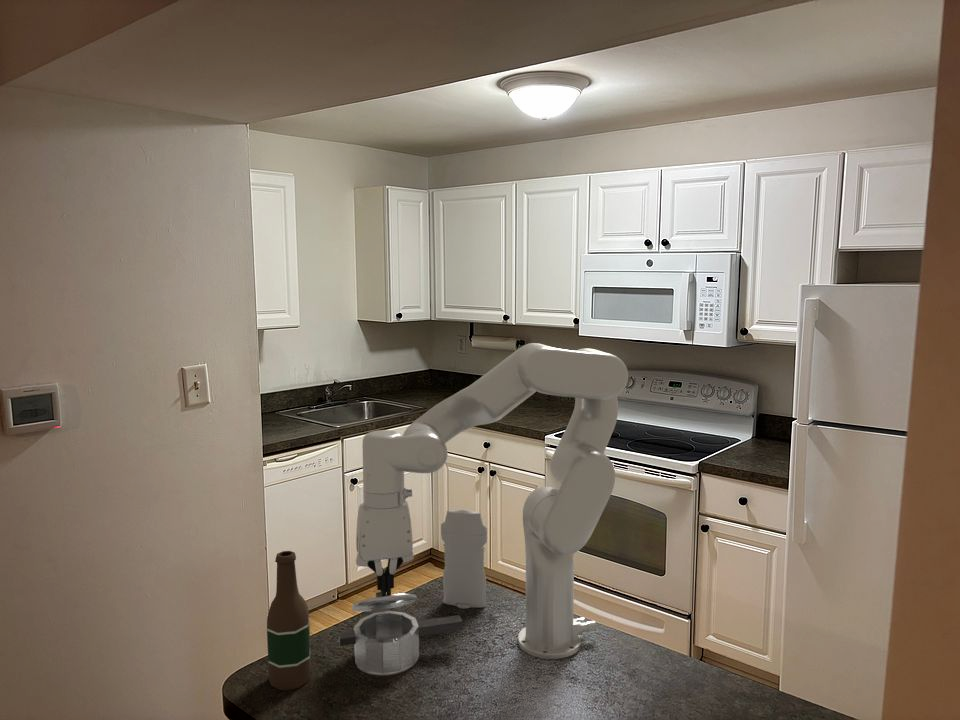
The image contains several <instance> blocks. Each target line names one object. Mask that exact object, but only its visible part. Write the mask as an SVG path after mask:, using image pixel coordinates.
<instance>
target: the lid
mask: <svg viewBox="0 0 960 720" xmlns="http://www.w3.org/2000/svg"><path fill="white" fill-rule="evenodd" d="M417 600H418V597H417V595H416V594H414V593H397V594H396V593H394V594H391V595H387V593H386V595H385V596H382V594H381V591H379V592H376V593H375V596H374V597H370V598H366V599H363V600H362V599H361V600H359V601H356V602H354V603H353V604H352V605H351V609H352V611H353V612H374V611H381V610H388V609H393V608H394V609H395V608H400V607H402V606H407V605H410V604H412V603H415V602H416V601H417Z"/></svg>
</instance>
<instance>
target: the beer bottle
mask: <svg viewBox="0 0 960 720" xmlns="http://www.w3.org/2000/svg"><path fill="white" fill-rule="evenodd" d="M296 559H297V556H296V552H294V551H292V550H283V551H281V552H278V553H276V556H275V560H274V561H275V563H276V587H275V588H276V591H275V596H274V598H273V599H272V601H271V603H270V606H269V609H268V613H267V616H266V617H267V618H266V637H267V638H266V639H267V643H266V644H267V662H268V664H267V665H268V679H269V680H268V681H269V685H270V686H272V687H273V688H276V689H278V690H279V691H288V690H298V689H299V688H300V687H302V686H304V685H306V684H307V683H309V682H310V679H311V671H312V669H311V667H312V666H311V665H312V659H311V658H312V656H311V654H312V653H311V633H310V629H311V628H310V612H309V606H308V604H307V602H306V600H305V599H304V597H303V596H302V594H300V592H299V587H298V580H297V571H296V570H297V569H296V564H295V563H296Z"/></svg>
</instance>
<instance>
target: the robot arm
mask: <svg viewBox="0 0 960 720" xmlns="http://www.w3.org/2000/svg"><path fill="white" fill-rule="evenodd" d="M628 382H629V372H628V368H627V365H626V364H625V363H624V361H623V360H622V359H621V358H619V357H618V356H617V355H614V354H612V353H610V352H609V353H608V352H606V351H605V352H604V351H602V350H599V349H594V348H589V347H587V348H586V347H585V348H579V349H577V350H570V349H564V348H557V347H553V346H549V345H546V344H542V343H538V342H530V343H527V344H524V345H522V346H521V347H519V348H517V350H515V351H514V352H512V353H511V354H510V355H508V356H507V357H506V358H504V359H503V360H501V362H499V363H498V364H497V365H496V366H494V367H493V368H491V369H490V370H489V371H487V372H486V373H485V374H483V375H482V376H481V377H480V378H478V379H476V380H475V381H473V383H472V384H469V386H467V387H465V388H463V389H461V390H459V391H458V392H456V393H454V394H453V395H451V396H449V397H447V398H445V399H443V400H442V401H440V402H438V403H437V404H435V405H434V406H433V407H431V408H430V409H429V410H427V411H426V412H424V413H423V414H422V415H421V416H419V417H418V418H417V419H415V420H414V421H413V422H411V424H409V426H407V427H406V429H405V430H404V432H403V434H401V433H400V432H398V431H395V430H391V429H381V430H373V431H369V432H368V433H365V434H364V436H363V438H362V444H361V445H362V484H363V485H362V488H363V489H362V491H363V493H362V494H363V496H362V497H363V498H362V499H363V503H360V504H359V505H358V506H359V507H358V511H357V516H356V517H357V519H356V537H355V538H356V542H355V544H356V547H355V548H356V553H357V554H356V559H355V564H356V566H357V567H364V568H366V567H367V568H369V569H371V571H372V572H373V573H375V574H376V588H377V589H376V590H377V591H379V592H381V594H382V596H385V595H386V593H387V595H392V589H394V588H395V574H396V572H397V570H398V569H399V568H400V567H401V566H402V565H403V564H404V563H407V562H410V561H412V560H414V558H415V557H414V553H413V547H414V545H413V529H412V519H411V513H410V507H409V504H408V501H407V498H410V497H411V498H412V497H413V489H412V488H411V489H408V488H406V487H405V473H415V474H416V473H417V474H432V473H435V472H437V471H439V470H440V469H441V468H443V467H444V466H445V464H446V463H447V460H448V453H449V451H448V447H447V445H446V444H447V443H448V442H449V441H451V440H452V439H453V438H455V437H456V436H457V435H459V434H461V433H463V432H465V431H466V430H469V429H471V428H473V427H477V426H481V425H482V426H484V425H488V424H492V423H495V422H498V421H500V420H501V419H503V418H504V417H506V416H507V414H509V413H510V412H512V411H513V410H514V409H515V408H517V407H518V406H519V405H520V404H522V403H524V402H525V401H526V400H527V399H529V398H530V397H531V396H532V395H534V394H535V393H536V392H538V393H539V394H545V395H548V396H549V395H550V396H558V397H565V398H574V399H575V403H574V408H573V411H572V414H571V417H570V419H569V421H568V424H567V426H566V428H565V430H564V432H563V435H562V436H561V438H560V440H559V442H558V445H557V446H556V448H555V450H554V452H553V454H552V456H551V460H550V464H549V465H550V471H551V473H552V476H553V477H554V479H555V480H556V481H557V482H558V483H559V484H560V487H559V489H558V488H556V487H553V486H541V487H537V488H535V489H534V490H533V491H531V492H530V493H529V495H528V496H527V497H526V499H525V501H524V504H523V507H522V526H523V527H522V528H523V534H524V545H525V550H524V551H525V627H523V628H522V629H521V630H520V631H519V632H518V635H517V645H518V646H519V647H520V649H521V650H522V651H523V652H525V653H527V654H528V655H529V656H532V657H535V658H538V659H545V660H560V659H564V658H568V657H571V656H573V655H574V654H577V652H578V651H580V648H582V647H581V645H582V637H581V635H582V634H583V633H590V632H595V631H597V623H596V621H595V620H588V621H586V620H585V619H586V618H585V617H577V618H574V606H575V605H574V603H575V602H574V601H575V599H574V596H575V594H574V593H575V592H574V591H575V588H574V587H575V585H574V583H575V579H574V578H575V554H576V553H577V552H579V551H580V550H581V549H582V548H584V546H585V545H586V544H587V543H588V541H589V539H590V538H591V537H592V535H593V533H594V530H595V528H596V527H597V524H598V522H599V521H600V518H601V516H602V514H603V513H604V511H605V508H606V506H607V504H608V501H609V500H610V497H611V495H612V493H613V491H614V487H615V480H616V471H615V468H614V464H613V462H612V461H611V459H610V458H609V457H608V456H607V454H605V451H606V448H607V447H608V444H609V442H610V439H611V437H612V434H613V432H614V430H615V427H616V424H617V421H618V414H619V402H618V401H619V400H618V396H619V395H620V394H621V393H623V392H624V390H625V389H626V387H627V385H628ZM382 560H387V565H386V567H385V569H384V567H383V563H382Z"/></svg>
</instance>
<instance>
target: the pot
mask: <svg viewBox="0 0 960 720" xmlns="http://www.w3.org/2000/svg"><path fill="white" fill-rule="evenodd" d="M370 613H371V614H369V615H366V616H364V617H362V618H360V619H359V620H358V621H357V623H356V624H355V625H354V626H353V630H348V631H342V632H338V644H339V646H340V647H343V646H349V645H354V658H355V659H354V661H355V665H357V666H356V667H357V668H358V670H360V671H361V672H363V673H365V674H367V675H372V676H379V677H383V676H393V675H398V674H401V673H403V672H407V671H408V670H410V669H412V667H414V666H415V665H416V663H417V662H418V660H419V656H420V638H419V637H425V636H430V635H431V636H432V635H437V634H443V633H449V632H450V633H451V632H457V631H458V632H459V631H463V624H464V623H463V619H462V618H461V616H460V615H459V614H457V615H449V616H443V617H437V618H430V619H422V620H417V619H416V617H414V616H412V615H410V614H408V613H406V612H400V611H392V608H390V609H384V610H376V611H370Z"/></svg>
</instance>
